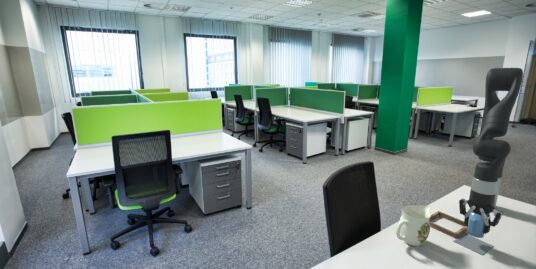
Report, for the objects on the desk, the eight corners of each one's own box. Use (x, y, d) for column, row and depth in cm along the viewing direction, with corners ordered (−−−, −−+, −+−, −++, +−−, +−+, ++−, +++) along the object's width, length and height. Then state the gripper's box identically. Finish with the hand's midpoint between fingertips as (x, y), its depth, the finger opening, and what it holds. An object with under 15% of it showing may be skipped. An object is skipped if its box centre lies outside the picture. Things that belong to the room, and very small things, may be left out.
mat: (465, 233, 114) (465, 233, 114) (493, 246, 106) (493, 245, 105) (453, 241, 109) (453, 240, 109) (482, 255, 101) (482, 254, 100)
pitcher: (383, 240, 110) (387, 210, 107) (413, 229, 117) (416, 200, 114) (407, 256, 100) (411, 223, 97) (437, 243, 108) (442, 212, 105)
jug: (470, 228, 110) (474, 208, 108) (486, 235, 105) (490, 214, 103) (460, 234, 106) (464, 213, 104) (477, 241, 101) (481, 220, 99)
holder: (438, 214, 130) (438, 211, 129) (471, 228, 118) (472, 224, 117) (421, 222, 122) (422, 219, 122) (455, 238, 111) (456, 234, 110)
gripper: (511, 194, 98) (502, 235, 102) (466, 181, 110) (460, 218, 114) (502, 199, 94) (493, 241, 98) (457, 185, 106) (451, 223, 110)
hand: (475, 229), depth 106 cm, fingers closed on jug, 5 cm apart
